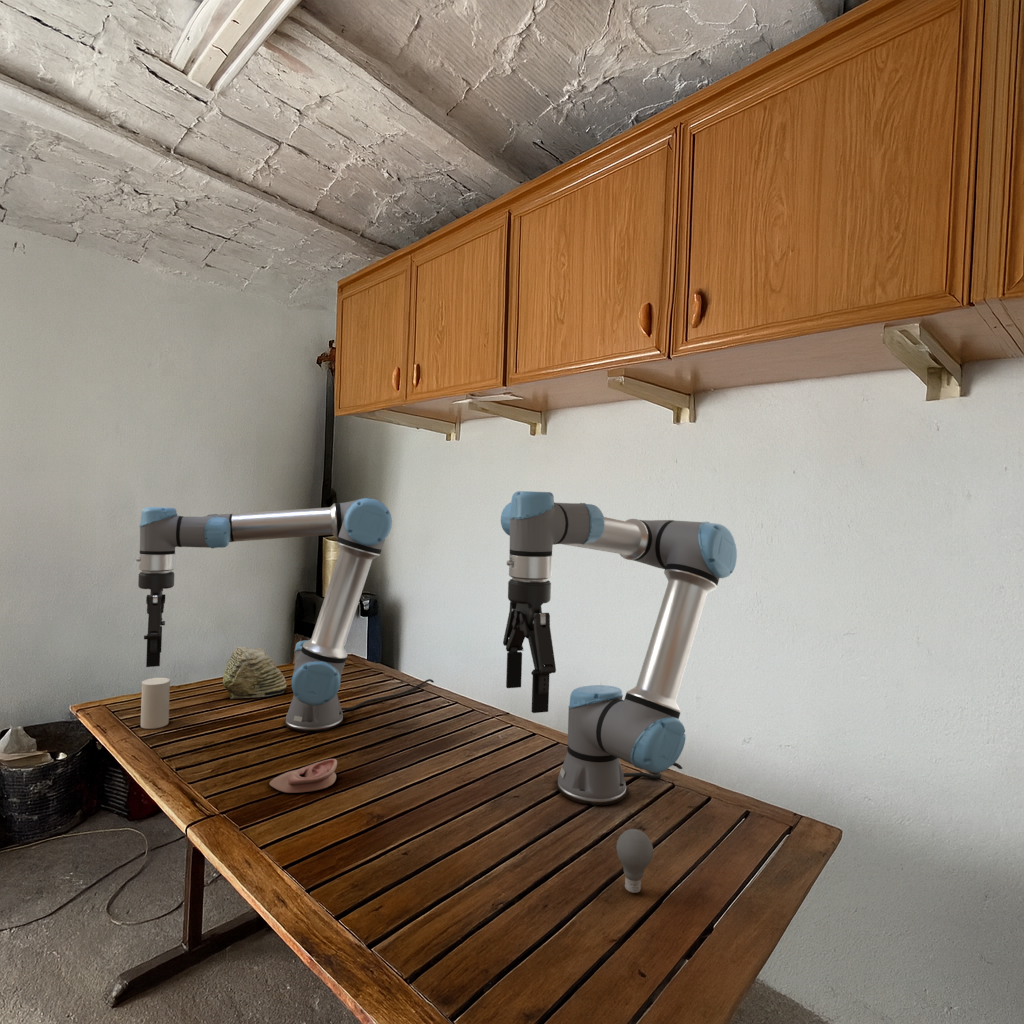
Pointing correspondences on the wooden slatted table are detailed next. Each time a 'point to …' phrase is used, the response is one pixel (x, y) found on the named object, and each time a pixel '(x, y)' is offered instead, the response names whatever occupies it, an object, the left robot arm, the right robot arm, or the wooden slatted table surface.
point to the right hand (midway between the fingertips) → (525, 699)
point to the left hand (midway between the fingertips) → (154, 659)
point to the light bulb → (634, 857)
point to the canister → (155, 703)
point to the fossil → (252, 674)
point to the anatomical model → (307, 778)
